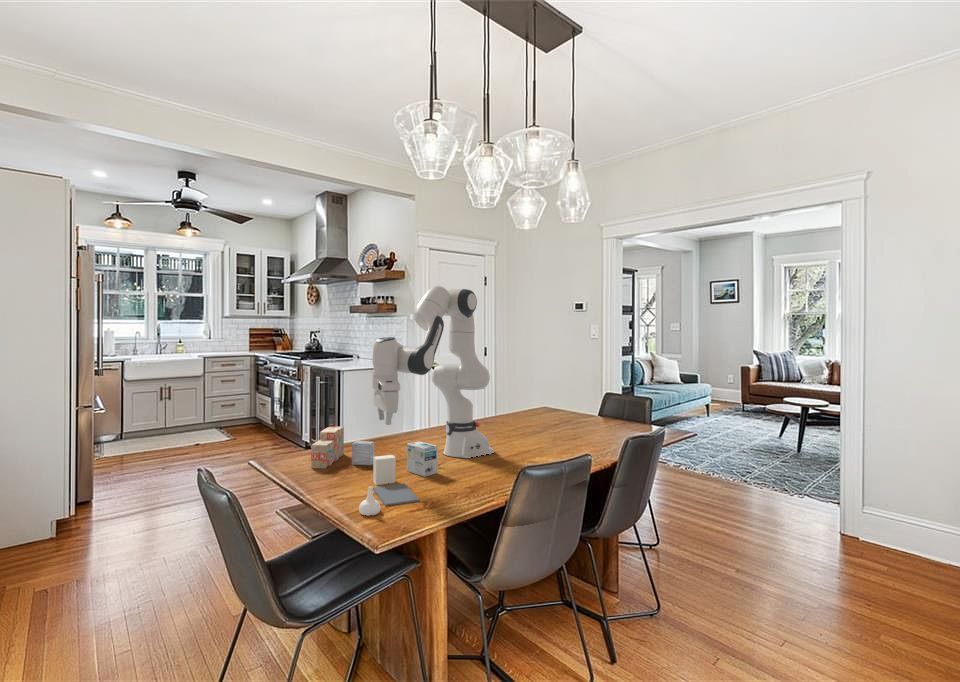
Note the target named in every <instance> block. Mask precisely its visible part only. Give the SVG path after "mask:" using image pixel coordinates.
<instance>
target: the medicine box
mask: <svg viewBox="0 0 960 682" xmlns="http://www.w3.org/2000/svg"><path fill="white" fill-rule="evenodd" d="M373 457H375V442H374V441H366V440H364V441H363V440H359V441H358V440H356V441H354V442H353V443H351V465H352V466H353V465H354V466H355V465H356V466H373Z"/></svg>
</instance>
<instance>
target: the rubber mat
mask: <svg viewBox="0 0 960 682" xmlns="http://www.w3.org/2000/svg"><path fill="white" fill-rule="evenodd" d="M372 490H373V493H375V494H376V495H377V497H378V498H379V500H380V501H381V502H382V504H383V506H385V507H389V505H390V506H396V504H397V505H403V504H404V505H405V504H409V503H415V502H416V503H418V502H420V501H421V500H420V498H419V497H418V496H417V495H416V494H415V493H414V492H413V491H412V490H411V489H410V488H409V486H407V484H405V483H399V484H398V483H397V484H396V483H395V484H389V485H383V486H382V485H381V486H375V487H374V486H372Z"/></svg>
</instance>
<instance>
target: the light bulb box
mask: <svg viewBox="0 0 960 682" xmlns="http://www.w3.org/2000/svg"><path fill="white" fill-rule="evenodd" d="M406 445H407V446H406V472H409V473H412V474H414V475H415V474H416V475H418V476H421V477H429V476H432V475H435V474H438V445H435V444H432V443H428V442H424V441H419V440H418V441H414V442H409V443H408V442H407V444H406Z"/></svg>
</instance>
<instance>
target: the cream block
mask: <svg viewBox="0 0 960 682" xmlns="http://www.w3.org/2000/svg"><path fill="white" fill-rule="evenodd" d="M396 460H397V457H396V456H395V455H394V454H387V455H380V456H379V455H378V456H377V455H376V456H374V457H373V464H372V466H373V467H372V469H373V470H372V471H373V475H372V476H373V477H372V480H373V483H374V485H375V486H379V485H381V486H382V485H388V483H389V484H396V483H395V482H396V481H397V480H396V479H397V478H396V477H397V476H396V475H397V474H396V471H397V470H396V469H397V468H396V467H397V466H396V465H397V463H396Z"/></svg>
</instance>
